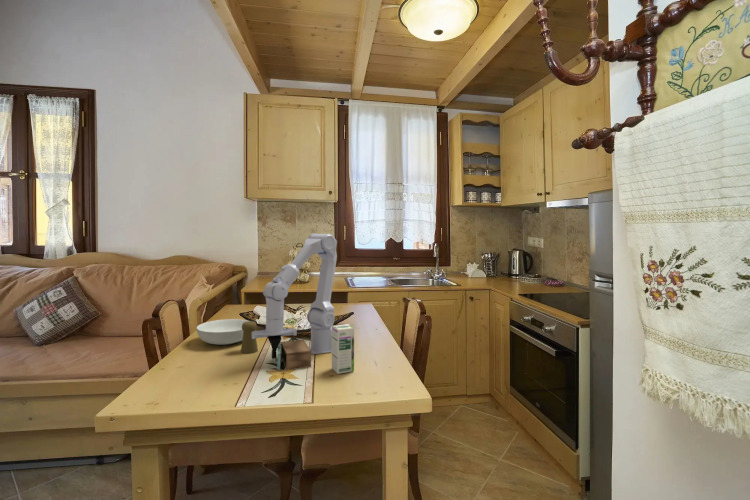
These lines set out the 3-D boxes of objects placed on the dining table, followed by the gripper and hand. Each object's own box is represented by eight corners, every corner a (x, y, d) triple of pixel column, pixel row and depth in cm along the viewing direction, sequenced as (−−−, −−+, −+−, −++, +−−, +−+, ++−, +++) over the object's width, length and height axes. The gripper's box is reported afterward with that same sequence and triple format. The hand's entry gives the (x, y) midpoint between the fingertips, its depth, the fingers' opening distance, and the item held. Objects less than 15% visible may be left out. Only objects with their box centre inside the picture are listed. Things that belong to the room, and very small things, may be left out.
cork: (252, 354, 130) (252, 324, 130) (237, 353, 131) (237, 323, 131) (260, 349, 136) (260, 320, 135) (246, 347, 137) (246, 319, 137)
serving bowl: (259, 344, 142) (259, 327, 141) (201, 354, 130) (201, 335, 130) (245, 331, 159) (245, 316, 158) (193, 339, 147) (192, 322, 147)
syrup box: (337, 374, 114) (338, 329, 113) (331, 368, 119) (331, 324, 118) (354, 371, 116) (354, 327, 115) (347, 365, 121) (347, 323, 121)
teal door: (280, 355, 129) (280, 341, 128) (280, 369, 116) (280, 354, 115) (274, 356, 128) (274, 341, 128) (274, 370, 115) (274, 354, 115)
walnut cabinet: (303, 354, 131) (303, 339, 131) (311, 366, 120) (311, 350, 119) (280, 356, 128) (280, 341, 128) (286, 369, 117) (286, 353, 116)
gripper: (294, 314, 127) (293, 351, 128) (251, 316, 122) (250, 356, 122) (298, 318, 121) (297, 358, 121) (252, 321, 115) (252, 363, 116)
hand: (274, 357), depth 121 cm, fingers closed
